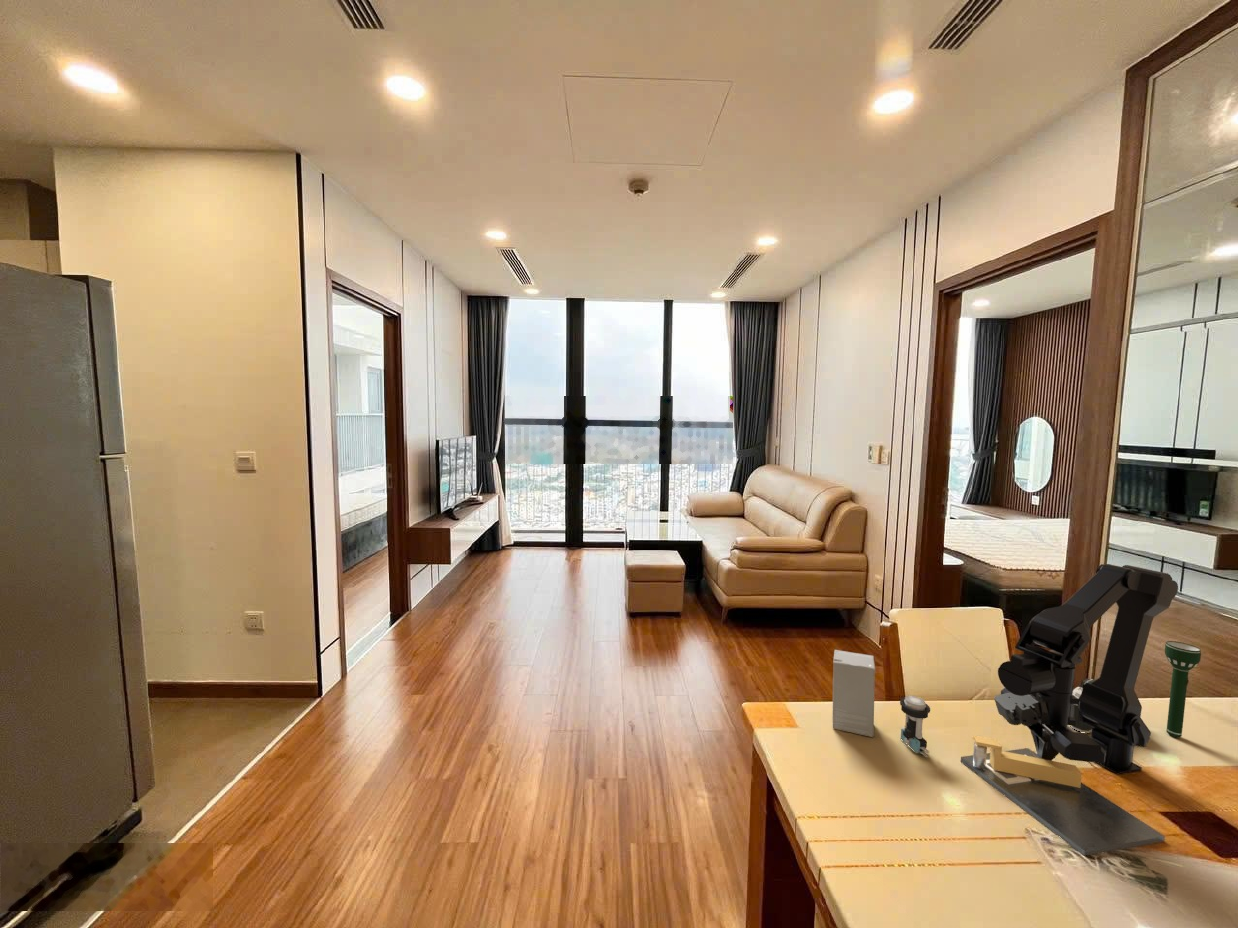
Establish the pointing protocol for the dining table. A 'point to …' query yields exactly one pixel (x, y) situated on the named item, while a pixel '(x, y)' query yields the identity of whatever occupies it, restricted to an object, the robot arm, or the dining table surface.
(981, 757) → the pivot post
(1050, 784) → the chassis plate
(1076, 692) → the camera
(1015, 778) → the label tile
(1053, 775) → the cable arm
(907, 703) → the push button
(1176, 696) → the flashlight
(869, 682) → the skincare box
